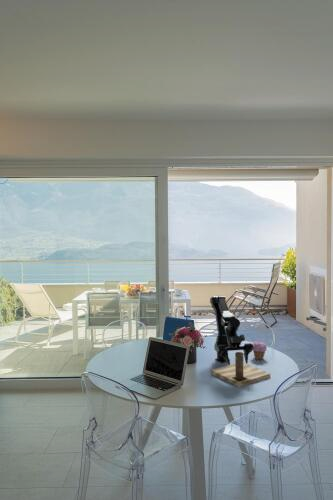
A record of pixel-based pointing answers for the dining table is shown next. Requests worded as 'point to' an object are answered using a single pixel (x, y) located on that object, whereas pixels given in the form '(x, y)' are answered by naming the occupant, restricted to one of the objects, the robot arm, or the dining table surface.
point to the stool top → (249, 374)
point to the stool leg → (239, 366)
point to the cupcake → (259, 350)
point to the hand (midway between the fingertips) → (238, 363)
